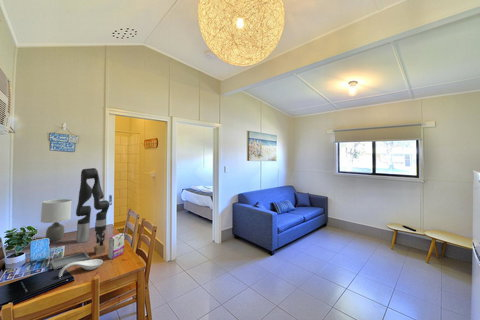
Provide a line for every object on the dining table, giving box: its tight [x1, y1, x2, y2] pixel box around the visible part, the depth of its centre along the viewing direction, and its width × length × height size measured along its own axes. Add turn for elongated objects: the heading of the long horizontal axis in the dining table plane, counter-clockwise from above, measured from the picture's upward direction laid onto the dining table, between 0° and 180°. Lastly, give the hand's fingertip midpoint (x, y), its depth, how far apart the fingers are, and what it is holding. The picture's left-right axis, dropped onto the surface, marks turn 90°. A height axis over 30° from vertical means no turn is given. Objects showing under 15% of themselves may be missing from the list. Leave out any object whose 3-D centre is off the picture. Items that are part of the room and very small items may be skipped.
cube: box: [93, 243, 106, 256], centre depth 161 cm, size 6×6×6 cm
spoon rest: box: [58, 258, 104, 278], centre depth 134 cm, size 24×12×7 cm, turn 140°
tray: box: [50, 251, 91, 270], centre depth 144 cm, size 14×20×2 cm
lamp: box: [40, 198, 72, 242], centre depth 184 cm, size 21×21×37 cm
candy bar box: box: [107, 232, 126, 260], centre depth 157 cm, size 11×5×16 cm, turn 168°
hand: (99, 244), depth 160 cm, fingers open, 8 cm apart
